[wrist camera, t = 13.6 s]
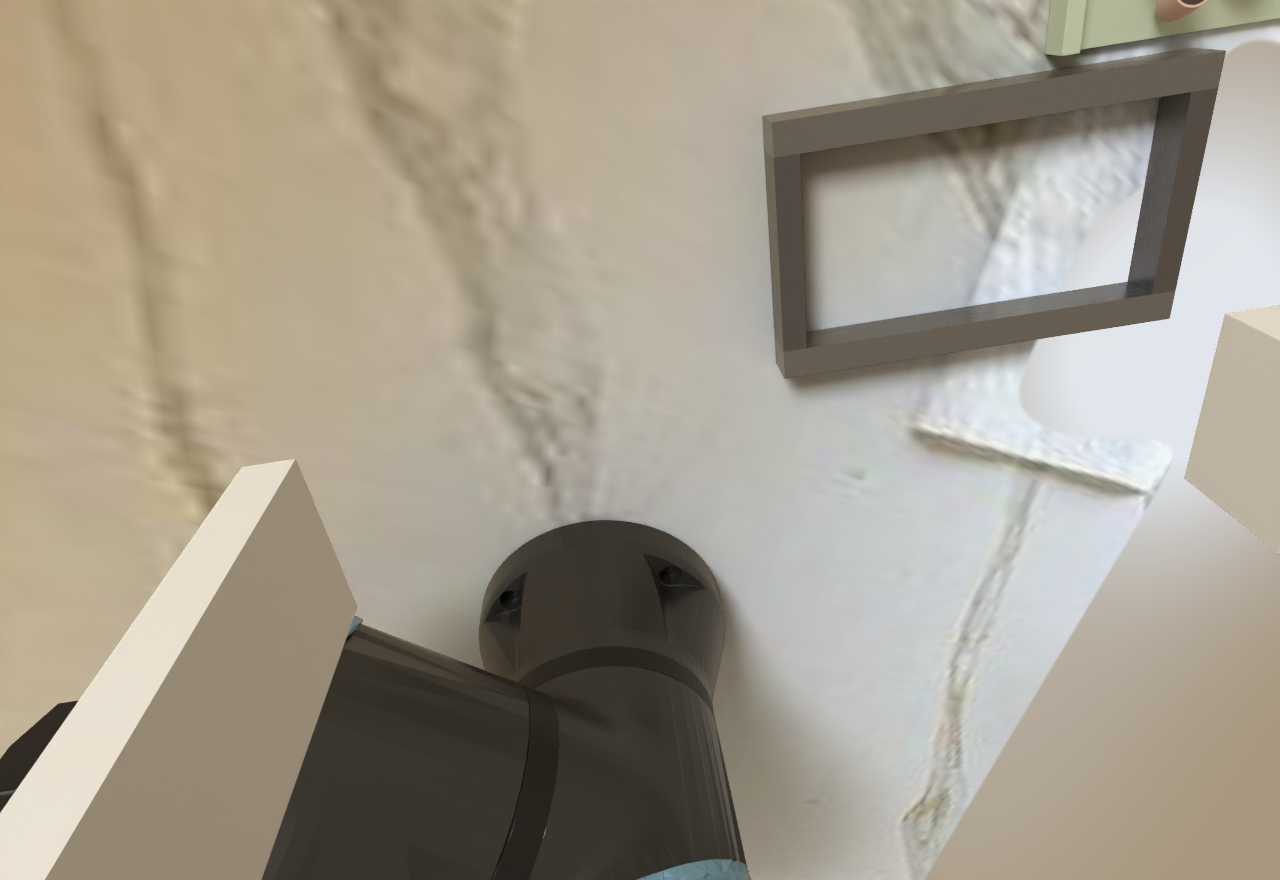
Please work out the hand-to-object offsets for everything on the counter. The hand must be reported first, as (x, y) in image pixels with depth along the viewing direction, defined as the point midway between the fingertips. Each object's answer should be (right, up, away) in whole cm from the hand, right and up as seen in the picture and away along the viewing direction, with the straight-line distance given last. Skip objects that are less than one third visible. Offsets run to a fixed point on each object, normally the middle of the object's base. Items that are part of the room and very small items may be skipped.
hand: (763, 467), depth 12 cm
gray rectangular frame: (+15, +11, +28) cm, 33 cm away
